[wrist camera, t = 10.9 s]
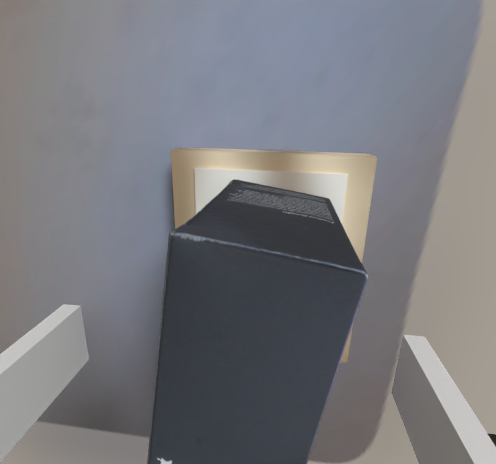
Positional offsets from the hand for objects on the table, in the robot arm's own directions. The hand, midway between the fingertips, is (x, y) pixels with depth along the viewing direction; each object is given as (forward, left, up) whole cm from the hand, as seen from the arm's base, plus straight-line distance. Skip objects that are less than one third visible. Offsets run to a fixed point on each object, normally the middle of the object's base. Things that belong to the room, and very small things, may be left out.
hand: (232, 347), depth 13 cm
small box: (+1, 0, -8) cm, 8 cm away
